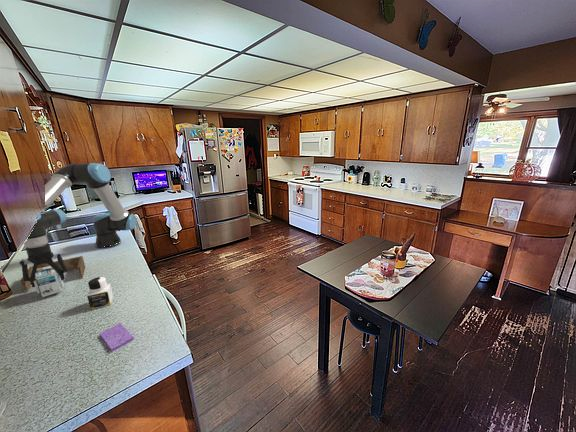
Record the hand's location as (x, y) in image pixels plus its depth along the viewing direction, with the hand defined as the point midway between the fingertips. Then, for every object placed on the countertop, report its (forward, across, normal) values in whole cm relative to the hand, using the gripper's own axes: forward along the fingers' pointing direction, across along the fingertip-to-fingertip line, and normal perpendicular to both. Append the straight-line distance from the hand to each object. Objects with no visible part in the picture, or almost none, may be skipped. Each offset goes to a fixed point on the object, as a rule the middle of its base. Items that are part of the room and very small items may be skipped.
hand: (51, 289), depth 113 cm
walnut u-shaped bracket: (+2, 0, +17) cm, 17 cm away
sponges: (+3, +25, -54) cm, 60 cm away
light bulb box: (+1, 0, 0) cm, 1 cm away
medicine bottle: (+2, +20, -25) cm, 32 cm away
